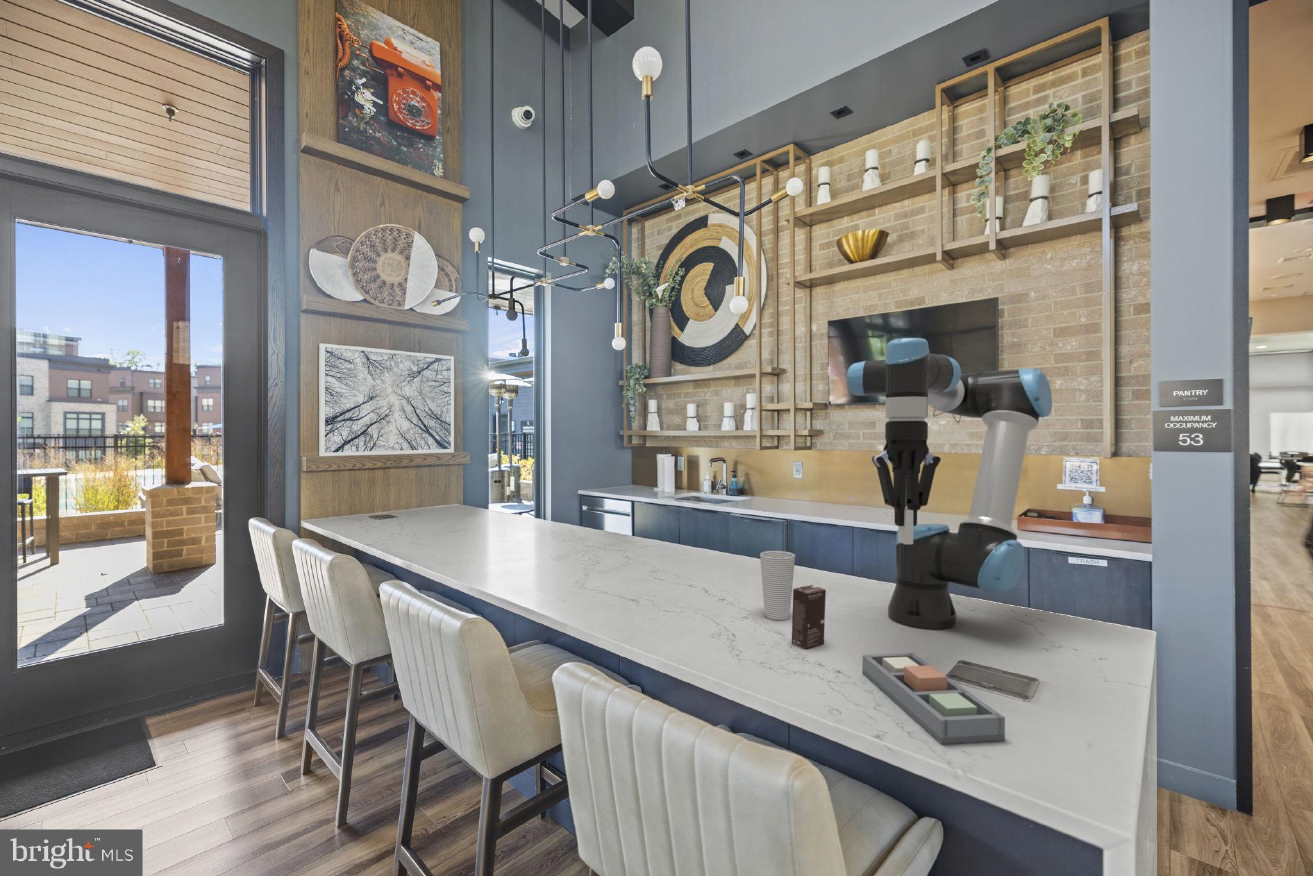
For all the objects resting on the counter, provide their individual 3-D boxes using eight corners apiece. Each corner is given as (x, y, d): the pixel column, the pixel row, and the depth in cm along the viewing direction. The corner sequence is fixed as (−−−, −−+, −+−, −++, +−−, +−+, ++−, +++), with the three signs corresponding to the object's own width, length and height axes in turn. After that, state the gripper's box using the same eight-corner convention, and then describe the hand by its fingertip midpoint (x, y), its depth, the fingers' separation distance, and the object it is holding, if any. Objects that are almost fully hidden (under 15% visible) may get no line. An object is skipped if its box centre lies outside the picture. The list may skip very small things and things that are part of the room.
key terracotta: (930, 679, 100) (930, 665, 100) (947, 692, 95) (947, 677, 95) (904, 680, 100) (904, 666, 100) (919, 693, 95) (919, 678, 95)
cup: (799, 615, 144) (799, 553, 144) (787, 624, 137) (788, 559, 137) (767, 609, 149) (767, 549, 149) (754, 618, 142) (754, 555, 142)
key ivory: (907, 670, 108) (907, 656, 107) (921, 681, 103) (921, 667, 103) (882, 671, 107) (882, 657, 107) (895, 682, 102) (895, 668, 102)
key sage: (957, 708, 93) (957, 693, 93) (976, 723, 88) (976, 707, 88) (928, 709, 92) (929, 694, 92) (947, 725, 87) (947, 708, 87)
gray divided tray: (912, 671, 110) (912, 653, 110) (1004, 740, 86) (1004, 717, 85) (862, 673, 109) (862, 655, 109) (941, 744, 84) (941, 720, 84)
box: (807, 650, 121) (807, 593, 121) (791, 643, 125) (791, 588, 125) (826, 644, 124) (826, 588, 124) (810, 638, 128) (810, 584, 128)
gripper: (927, 420, 115) (926, 538, 115) (864, 420, 114) (864, 540, 114) (950, 419, 108) (949, 546, 108) (883, 419, 106) (882, 547, 107)
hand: (905, 542), depth 111 cm, fingers closed
